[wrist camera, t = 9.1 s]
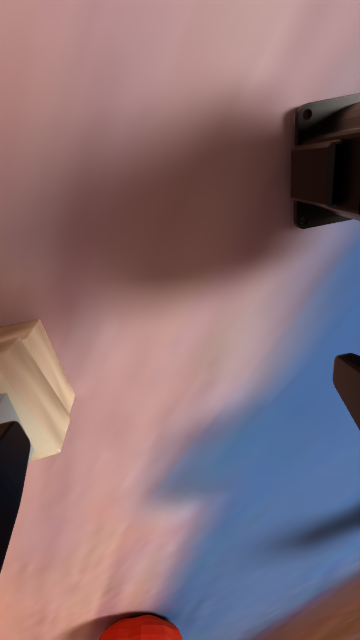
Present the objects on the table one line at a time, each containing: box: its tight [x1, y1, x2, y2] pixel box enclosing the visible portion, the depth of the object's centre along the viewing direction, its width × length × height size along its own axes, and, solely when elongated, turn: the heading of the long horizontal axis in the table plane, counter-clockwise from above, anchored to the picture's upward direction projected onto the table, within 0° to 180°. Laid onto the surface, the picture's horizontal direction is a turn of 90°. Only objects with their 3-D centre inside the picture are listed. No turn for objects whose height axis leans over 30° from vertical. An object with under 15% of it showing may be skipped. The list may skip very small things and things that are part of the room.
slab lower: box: [0, 319, 75, 413], centre depth 21 cm, size 7×7×3 cm
